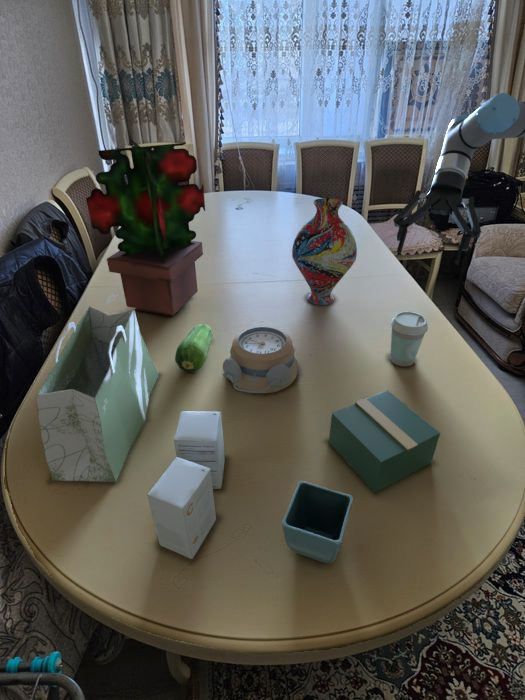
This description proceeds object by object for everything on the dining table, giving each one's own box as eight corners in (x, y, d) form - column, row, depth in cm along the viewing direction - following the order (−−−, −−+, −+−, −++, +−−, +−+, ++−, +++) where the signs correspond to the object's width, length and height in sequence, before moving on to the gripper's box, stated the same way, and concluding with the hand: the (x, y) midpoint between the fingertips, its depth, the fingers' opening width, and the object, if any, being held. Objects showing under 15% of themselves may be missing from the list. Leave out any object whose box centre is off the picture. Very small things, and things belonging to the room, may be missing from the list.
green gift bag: (123, 482, 82) (95, 383, 69) (48, 480, 83) (7, 382, 70) (161, 375, 109) (146, 289, 95) (104, 374, 109) (82, 288, 96)
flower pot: (297, 513, 77) (299, 478, 72) (348, 530, 74) (354, 495, 69) (280, 559, 70) (280, 524, 65) (335, 579, 67) (340, 544, 62)
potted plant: (151, 283, 150) (127, 137, 124) (211, 293, 144) (199, 141, 118) (112, 315, 133) (75, 152, 107) (179, 328, 126) (156, 158, 101)
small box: (185, 506, 78) (176, 455, 71) (217, 519, 76) (211, 467, 68) (158, 546, 72) (145, 494, 64) (192, 561, 70) (183, 509, 62)
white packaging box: (187, 458, 87) (180, 409, 80) (225, 459, 87) (222, 410, 80) (180, 489, 81) (172, 439, 74) (221, 490, 81) (217, 440, 73)
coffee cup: (403, 374, 108) (412, 332, 102) (377, 357, 114) (384, 316, 108) (426, 362, 112) (437, 321, 105) (400, 346, 118) (409, 306, 111)
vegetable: (176, 347, 103) (200, 306, 120) (166, 368, 107) (190, 326, 124) (205, 361, 104) (224, 319, 121) (194, 382, 108) (214, 338, 125)
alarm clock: (303, 324, 110) (288, 382, 91) (301, 355, 115) (287, 415, 97) (236, 317, 113) (208, 372, 94) (237, 347, 118) (211, 405, 100)
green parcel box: (432, 463, 85) (441, 432, 81) (375, 493, 80) (382, 462, 75) (381, 418, 96) (387, 388, 91) (327, 441, 90) (331, 411, 86)
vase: (293, 314, 132) (297, 213, 115) (288, 285, 148) (290, 193, 131) (356, 313, 133) (369, 212, 116) (344, 284, 148) (355, 192, 131)
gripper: (502, 192, 109) (480, 272, 107) (399, 181, 118) (377, 255, 116) (508, 174, 102) (485, 260, 100) (398, 164, 111) (374, 242, 109)
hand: (427, 257), depth 108 cm, fingers open, 13 cm apart
